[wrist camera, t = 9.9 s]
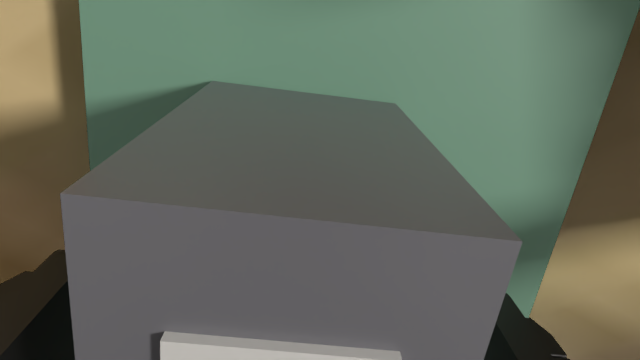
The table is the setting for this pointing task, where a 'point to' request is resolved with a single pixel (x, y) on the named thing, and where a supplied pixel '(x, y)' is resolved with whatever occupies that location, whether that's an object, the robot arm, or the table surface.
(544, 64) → the board
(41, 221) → the table surface
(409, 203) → the block
